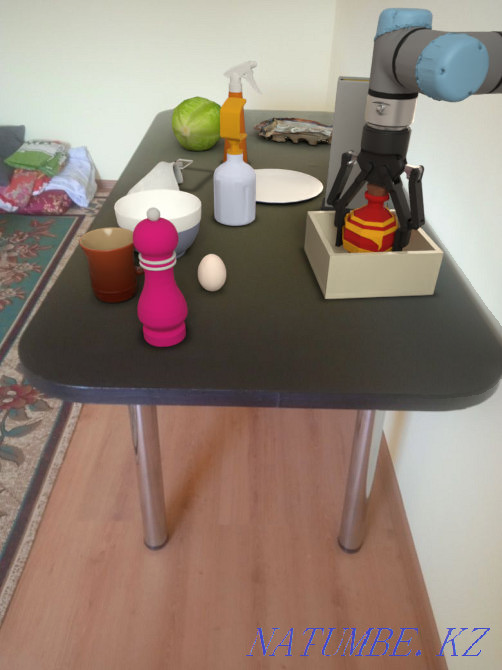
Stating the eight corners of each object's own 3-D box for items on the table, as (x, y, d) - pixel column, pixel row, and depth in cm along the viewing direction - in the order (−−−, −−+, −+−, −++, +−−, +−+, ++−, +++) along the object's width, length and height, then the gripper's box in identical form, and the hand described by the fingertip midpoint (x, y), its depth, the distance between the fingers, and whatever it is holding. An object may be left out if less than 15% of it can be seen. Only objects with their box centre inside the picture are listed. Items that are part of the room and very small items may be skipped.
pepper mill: (136, 326, 79) (119, 201, 68) (182, 318, 81) (173, 195, 70) (145, 353, 74) (129, 222, 62) (194, 343, 76) (187, 214, 64)
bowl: (120, 273, 93) (113, 223, 88) (120, 236, 106) (114, 191, 100) (208, 266, 96) (206, 217, 90) (198, 231, 108) (196, 187, 103)
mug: (92, 312, 82) (81, 253, 77) (86, 286, 89) (76, 230, 83) (166, 299, 86) (161, 243, 80) (155, 275, 93) (150, 222, 87)
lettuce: (215, 157, 148) (165, 159, 153) (238, 138, 166) (193, 140, 171) (207, 103, 140) (155, 107, 145) (232, 88, 158) (185, 92, 163)
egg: (232, 290, 89) (232, 255, 85) (210, 300, 86) (209, 264, 82) (214, 280, 92) (213, 245, 88) (192, 289, 89) (190, 254, 85)
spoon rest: (173, 222, 112) (171, 190, 108) (121, 218, 114) (116, 187, 109) (196, 184, 131) (194, 155, 127) (151, 181, 132) (148, 153, 128)
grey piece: (245, 142, 165) (246, 125, 162) (262, 127, 182) (262, 110, 179) (339, 151, 159) (341, 133, 156) (347, 134, 176) (349, 117, 173)
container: (323, 217, 122) (311, 79, 106) (404, 211, 118) (405, 65, 101) (321, 230, 116) (308, 85, 100) (406, 224, 112) (408, 71, 95)
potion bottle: (401, 262, 96) (417, 183, 88) (382, 285, 89) (397, 201, 81) (349, 248, 101) (360, 172, 92) (327, 269, 94) (336, 188, 85)
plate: (210, 178, 136) (210, 174, 136) (294, 168, 145) (295, 164, 144) (247, 212, 118) (247, 207, 117) (341, 198, 126) (342, 193, 125)
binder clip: (183, 183, 133) (182, 161, 130) (169, 181, 134) (168, 160, 131) (193, 175, 138) (192, 154, 135) (179, 173, 139) (178, 153, 136)
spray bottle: (255, 169, 143) (258, 63, 128) (219, 165, 146) (217, 60, 131) (263, 162, 149) (266, 59, 134) (227, 158, 151) (227, 57, 136)
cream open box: (433, 294, 89) (443, 252, 84) (325, 299, 87) (330, 256, 82) (396, 246, 104) (403, 209, 100) (304, 249, 102) (307, 211, 98)
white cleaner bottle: (260, 214, 117) (264, 97, 103) (246, 229, 110) (248, 105, 96) (224, 208, 119) (222, 93, 105) (208, 223, 112) (204, 101, 98)
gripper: (313, 116, 84) (303, 241, 97) (449, 143, 73) (417, 280, 85) (337, 109, 89) (324, 229, 102) (468, 132, 77) (435, 264, 90)
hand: (366, 252), depth 94 cm, fingers closed on potion bottle, 10 cm apart
